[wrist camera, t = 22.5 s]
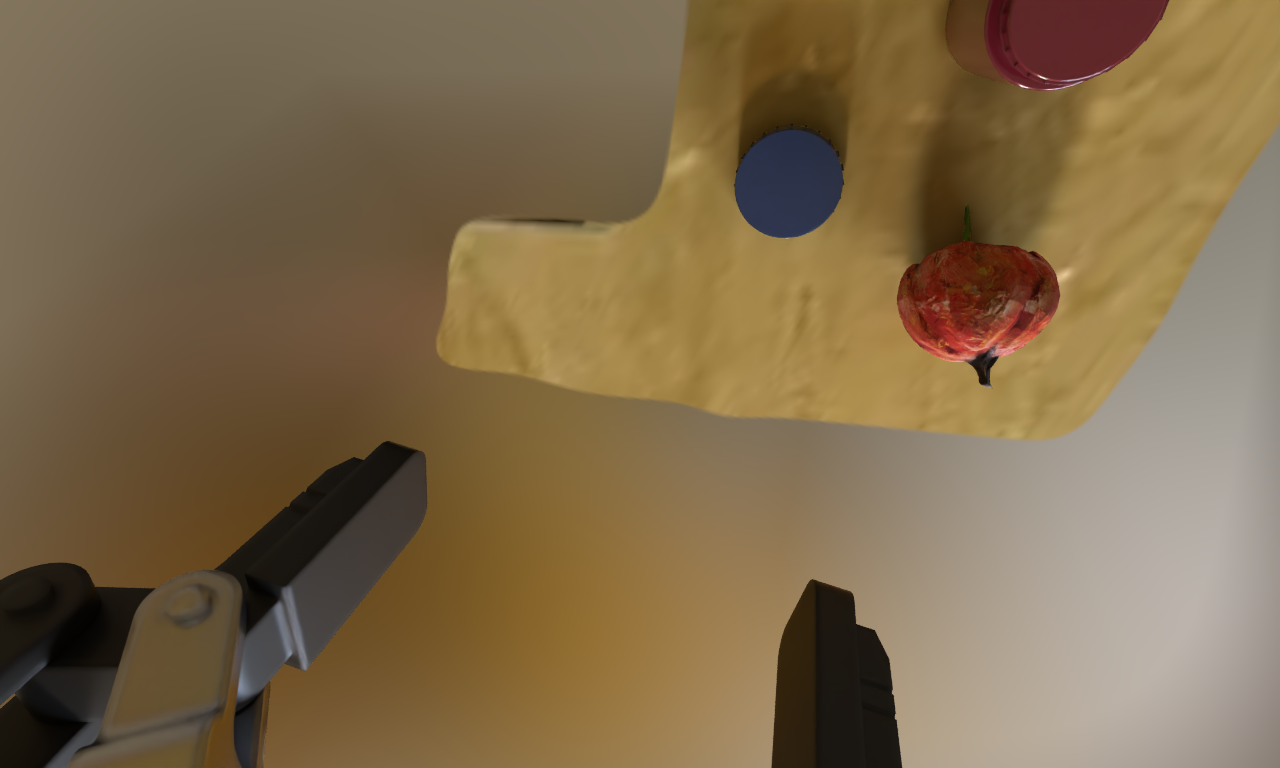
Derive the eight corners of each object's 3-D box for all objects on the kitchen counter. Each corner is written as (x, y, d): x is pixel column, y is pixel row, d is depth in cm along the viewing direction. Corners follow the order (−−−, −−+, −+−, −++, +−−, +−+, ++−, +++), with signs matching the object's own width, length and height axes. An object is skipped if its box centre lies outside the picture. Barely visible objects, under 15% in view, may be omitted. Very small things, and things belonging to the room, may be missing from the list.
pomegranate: (882, 228, 36) (876, 389, 35) (925, 170, 29) (920, 371, 28) (1011, 232, 35) (1010, 398, 34) (1090, 173, 28) (1092, 381, 27)
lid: (812, 245, 35) (811, 255, 34) (721, 208, 36) (717, 215, 34) (863, 148, 32) (865, 153, 31) (763, 107, 32) (760, 111, 31)
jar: (930, 74, 30) (973, 89, 22) (966, -58, 27) (1030, -98, 19) (1048, 81, 29) (1138, 99, 21) (1097, -56, 26) (1224, -97, 18)
